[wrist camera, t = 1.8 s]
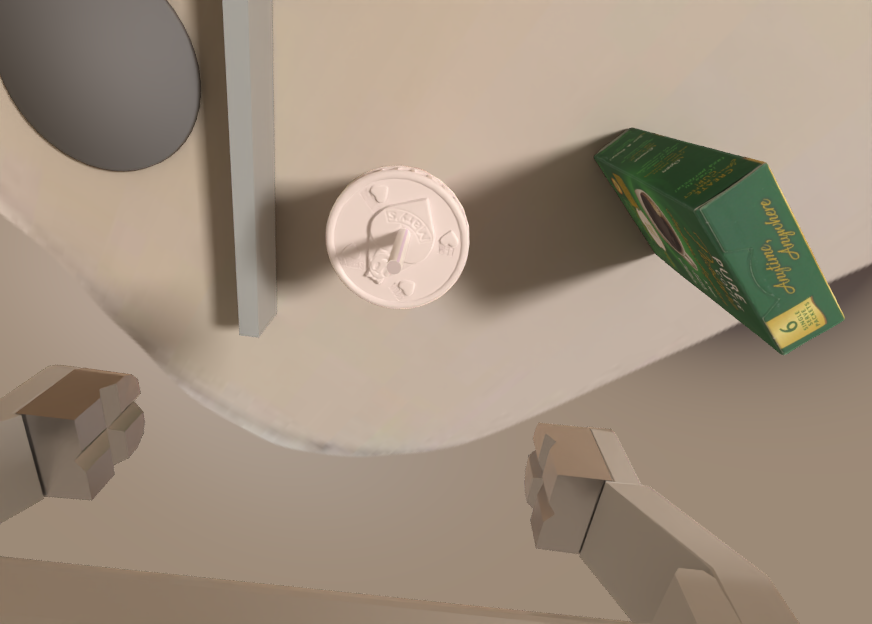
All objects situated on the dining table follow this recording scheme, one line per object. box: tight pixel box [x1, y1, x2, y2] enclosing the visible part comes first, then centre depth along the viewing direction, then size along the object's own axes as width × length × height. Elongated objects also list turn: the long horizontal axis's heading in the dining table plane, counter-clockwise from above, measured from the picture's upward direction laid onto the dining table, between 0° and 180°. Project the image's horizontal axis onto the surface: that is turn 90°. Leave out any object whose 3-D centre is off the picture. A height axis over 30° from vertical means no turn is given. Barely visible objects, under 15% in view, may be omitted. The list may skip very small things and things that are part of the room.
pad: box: [0, 0, 201, 171], centre depth 27 cm, size 11×11×1 cm
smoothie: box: [326, 165, 470, 309], centre depth 24 cm, size 6×6×14 cm
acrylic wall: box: [222, 0, 277, 338], centre depth 27 cm, size 22×1×4 cm, turn 173°
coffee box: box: [594, 128, 845, 355], centre depth 24 cm, size 8×3×13 cm, turn 39°
